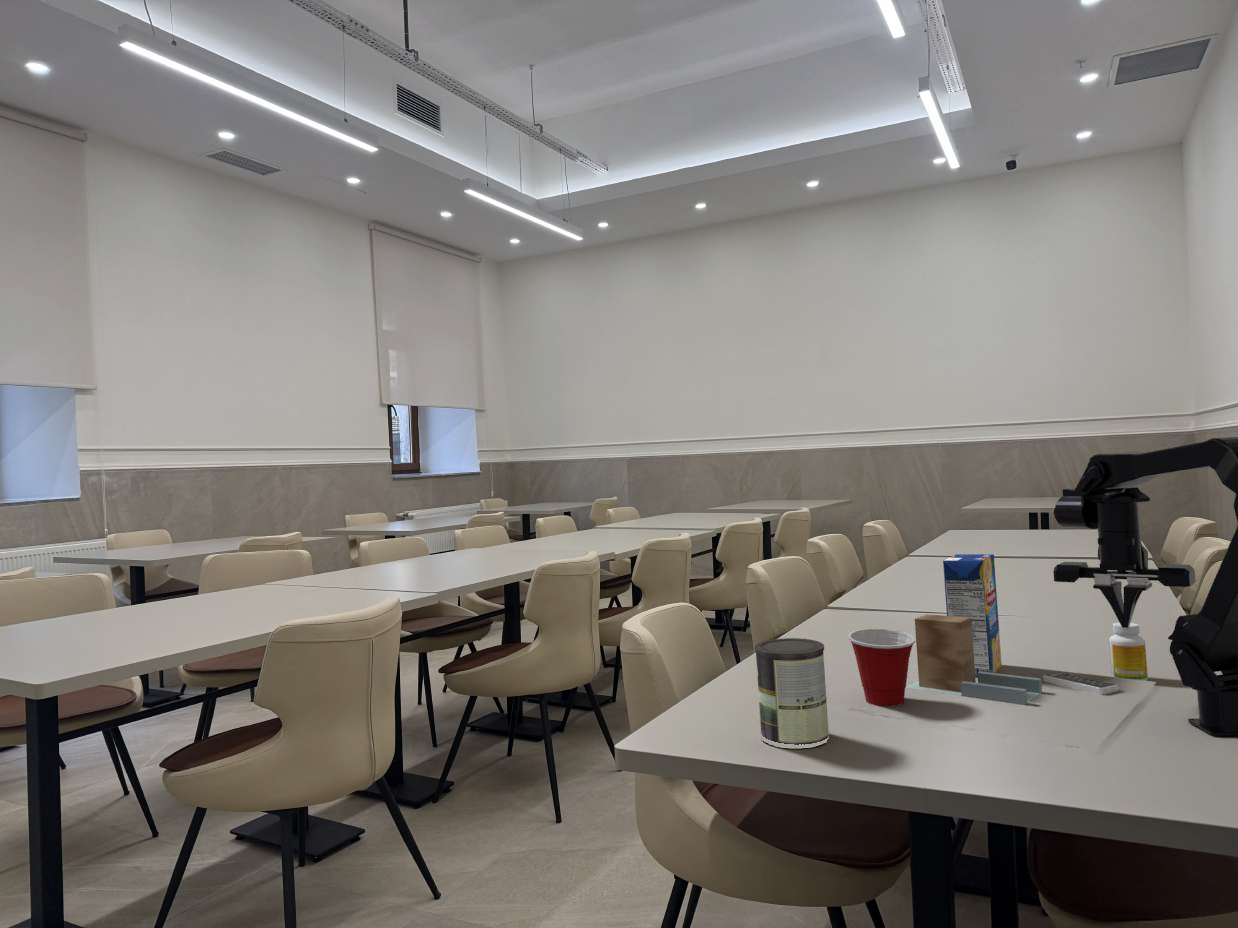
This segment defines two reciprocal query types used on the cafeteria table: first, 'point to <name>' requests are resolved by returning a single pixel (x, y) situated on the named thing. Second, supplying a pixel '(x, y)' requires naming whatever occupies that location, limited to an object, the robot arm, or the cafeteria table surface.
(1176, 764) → the cafeteria table surface
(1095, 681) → the multiport hub
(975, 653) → the beverage box
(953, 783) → the cafeteria table surface
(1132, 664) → the supplement bottle
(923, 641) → the block
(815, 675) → the coffee can
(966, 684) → the chute
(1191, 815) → the cafeteria table surface
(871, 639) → the plastic cup
